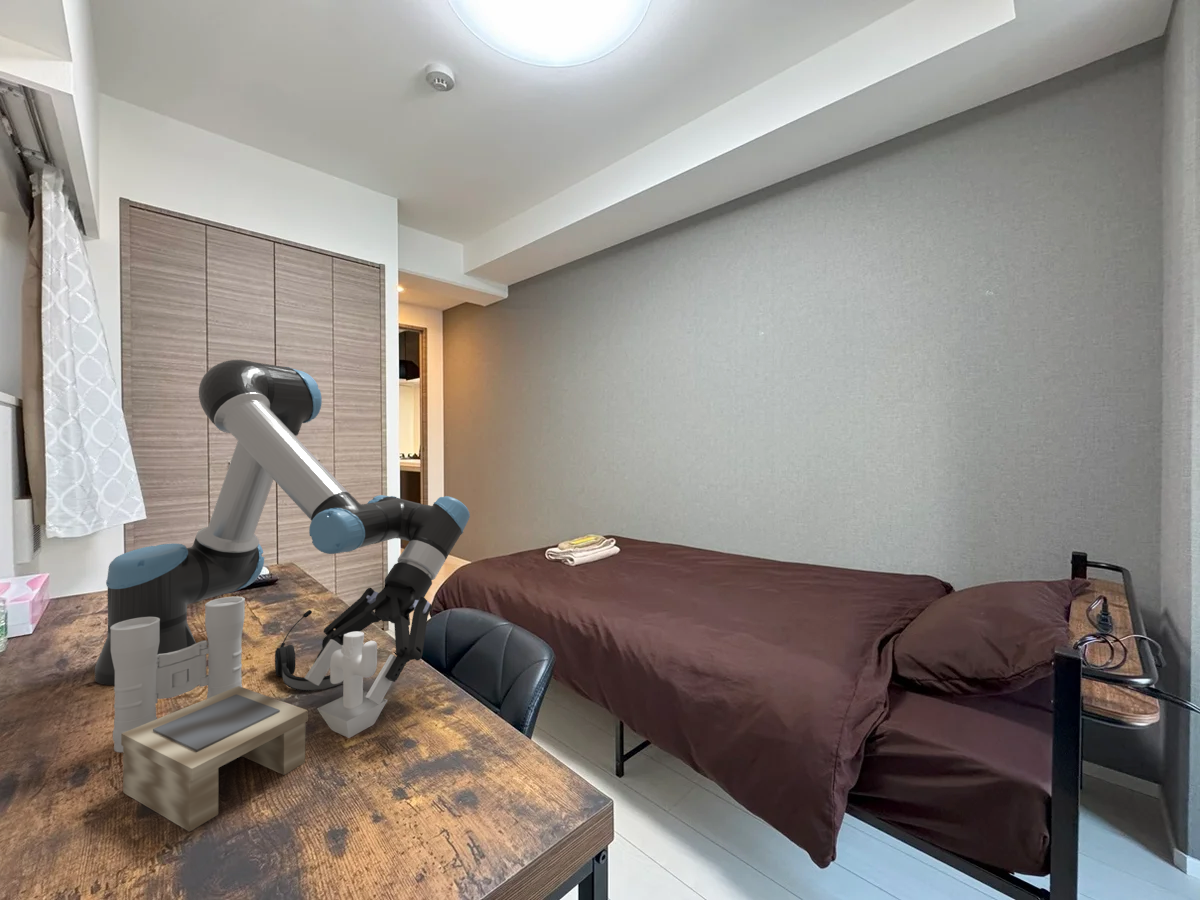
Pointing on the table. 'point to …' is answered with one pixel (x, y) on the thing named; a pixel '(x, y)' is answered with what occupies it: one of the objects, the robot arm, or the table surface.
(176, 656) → the binoculars
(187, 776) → the bridge shelf
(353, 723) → the figurine
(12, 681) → the table surface
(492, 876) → the table surface
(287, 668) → the headset
